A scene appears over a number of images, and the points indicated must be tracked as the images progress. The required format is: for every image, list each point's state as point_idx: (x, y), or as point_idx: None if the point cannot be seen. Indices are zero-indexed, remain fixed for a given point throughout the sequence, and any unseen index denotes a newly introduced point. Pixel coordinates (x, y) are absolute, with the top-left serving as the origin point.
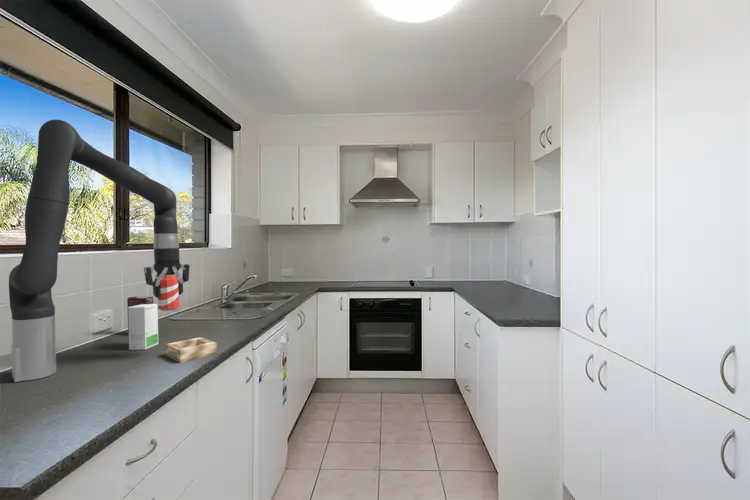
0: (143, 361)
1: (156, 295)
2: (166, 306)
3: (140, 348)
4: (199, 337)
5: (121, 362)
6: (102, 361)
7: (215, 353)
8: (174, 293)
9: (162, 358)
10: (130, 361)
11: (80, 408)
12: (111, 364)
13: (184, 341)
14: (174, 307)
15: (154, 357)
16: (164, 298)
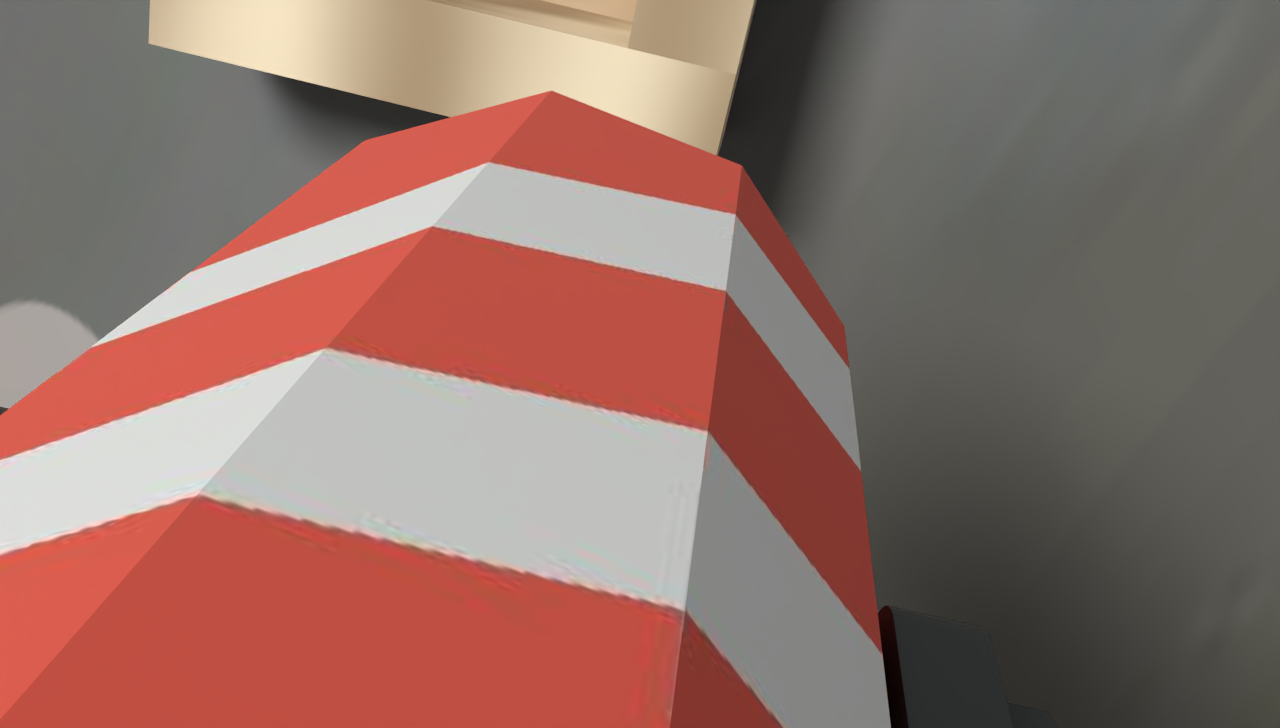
0: (1032, 170)
1: (1013, 725)
2: (765, 227)
3: None
4: (177, 40)
5: (1169, 390)
6: (1216, 624)
7: None
8: (354, 276)
9: (828, 55)
10: (1096, 328)
11: None
12: (1274, 423)
13: (460, 36)
14: (544, 95)
15: (845, 205)
16: (792, 409)
